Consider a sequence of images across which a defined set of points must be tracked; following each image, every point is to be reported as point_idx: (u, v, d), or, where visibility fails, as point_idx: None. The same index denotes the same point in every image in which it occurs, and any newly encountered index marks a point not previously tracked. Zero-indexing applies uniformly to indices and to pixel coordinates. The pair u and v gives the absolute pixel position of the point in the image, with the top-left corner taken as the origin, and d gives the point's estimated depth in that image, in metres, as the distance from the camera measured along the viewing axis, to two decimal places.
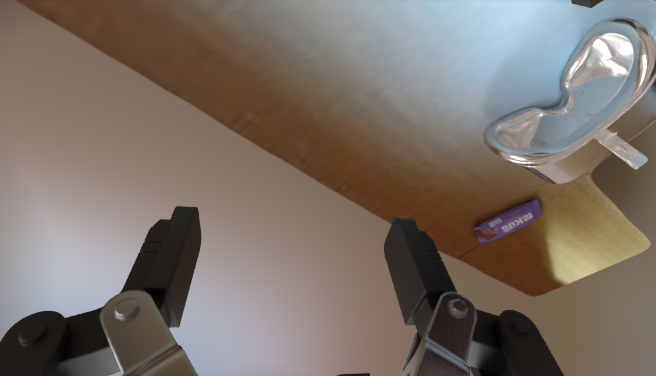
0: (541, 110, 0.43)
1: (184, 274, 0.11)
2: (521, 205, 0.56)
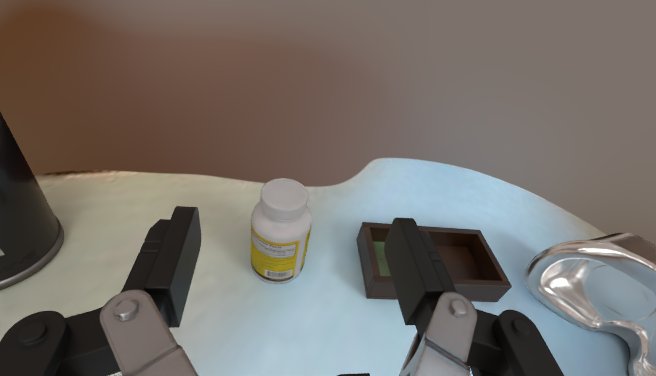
0: (637, 361, 0.31)
1: (184, 274, 0.11)
2: None
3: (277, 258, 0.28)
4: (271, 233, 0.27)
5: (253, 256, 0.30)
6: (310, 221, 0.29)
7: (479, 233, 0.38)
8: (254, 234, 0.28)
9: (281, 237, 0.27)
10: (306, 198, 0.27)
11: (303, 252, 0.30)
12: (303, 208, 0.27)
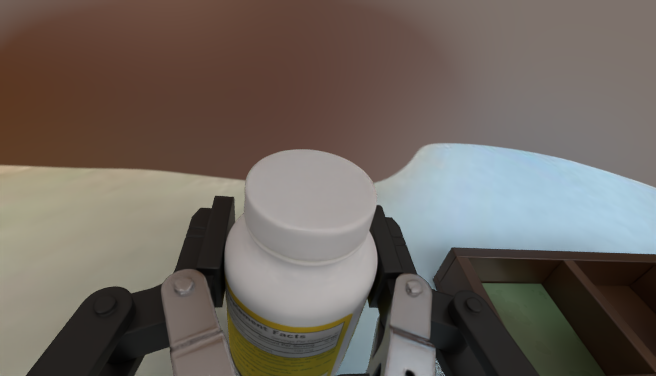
0: None
1: None
2: None
3: (293, 358, 0.11)
4: (277, 301, 0.09)
5: (233, 344, 0.13)
6: (376, 258, 0.11)
7: None
8: (231, 298, 0.11)
9: (305, 312, 0.09)
10: (374, 198, 0.10)
11: (353, 331, 0.12)
12: (368, 226, 0.09)
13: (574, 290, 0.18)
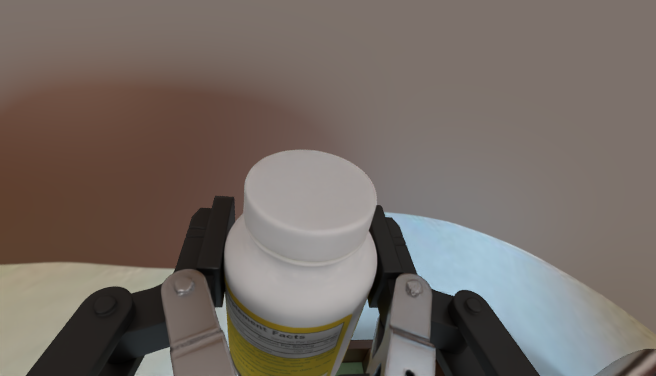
0: None
1: None
2: None
3: (293, 359, 0.11)
4: (276, 301, 0.09)
5: (232, 344, 0.13)
6: (375, 259, 0.11)
7: None
8: (230, 299, 0.11)
9: (305, 312, 0.09)
10: (374, 198, 0.10)
11: (353, 332, 0.12)
12: (368, 227, 0.09)
13: None
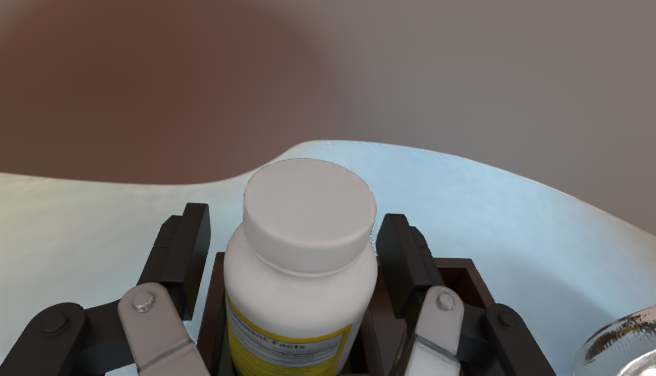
0: None
1: (196, 269, 0.11)
2: None
3: (293, 367, 0.11)
4: (276, 312, 0.09)
5: (233, 352, 0.13)
6: (376, 267, 0.11)
7: (470, 266, 0.19)
8: (231, 308, 0.11)
9: (304, 323, 0.09)
10: (373, 208, 0.10)
11: (354, 339, 0.12)
12: (367, 237, 0.09)
13: None
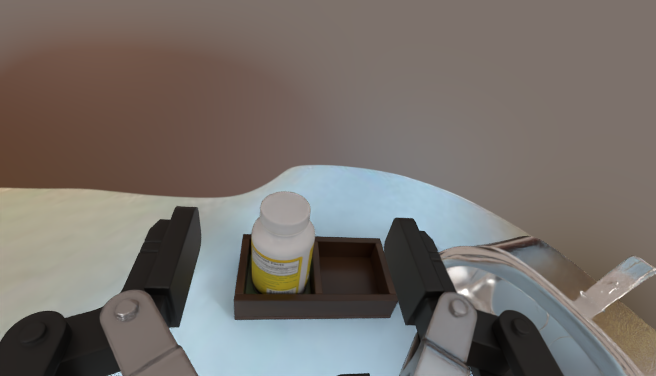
0: None
1: (184, 274, 0.11)
2: None
3: (279, 276, 0.27)
4: (272, 249, 0.25)
5: (254, 275, 0.29)
6: (313, 236, 0.27)
7: (378, 242, 0.35)
8: (254, 251, 0.27)
9: (282, 253, 0.25)
10: (308, 211, 0.26)
11: (307, 269, 0.29)
12: (305, 222, 0.25)
13: None
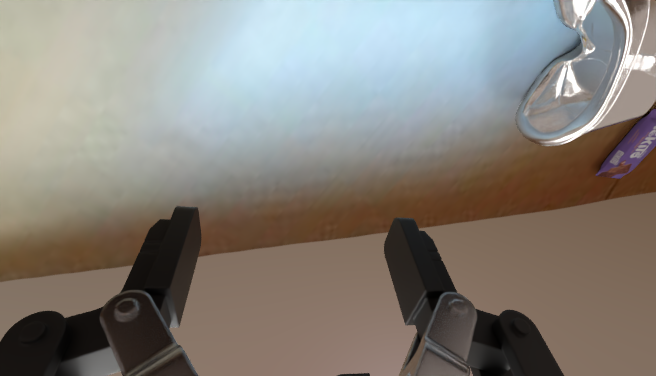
0: (564, 61, 0.38)
1: (184, 274, 0.11)
2: (638, 124, 0.46)
3: None
4: None
5: None
6: None
7: None
8: None
9: None
10: None
11: None
12: None
13: None
